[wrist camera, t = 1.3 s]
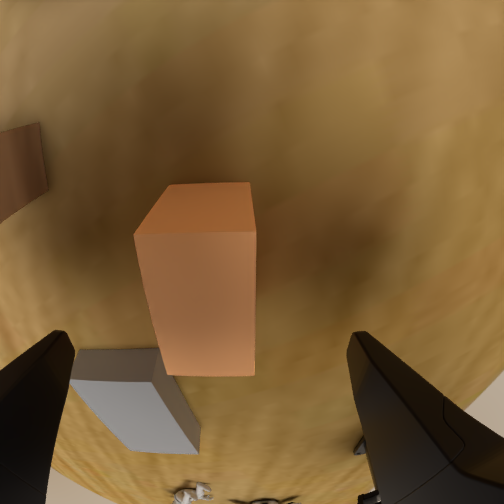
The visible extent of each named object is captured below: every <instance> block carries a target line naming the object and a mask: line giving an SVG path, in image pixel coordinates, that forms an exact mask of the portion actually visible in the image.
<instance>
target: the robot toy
mask: <svg viewBox="0 0 504 504" xmlns="http://www.w3.org/2000/svg"><path fill="white" fill-rule="evenodd" d="M252 504H278V503H277V502H276V501H257V502H253V503H252ZM288 504H301V503H294V502H291V503H288Z"/></svg>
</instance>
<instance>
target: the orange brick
mask: <svg viewBox="0 0 504 504" xmlns="http://www.w3.org/2000/svg"><path fill="white" fill-rule="evenodd" d="M133 236H134V241H135V247H136V252H137V257H138V262H139V267H140V272H141V276H142V281H143V286H144V290H145V294H146V299H147V303H148V307H149V311H150V315H151V319H152V323H153V327H154V330H155V334H156V338H157V341H158V345H159V349H160V352H161V355H162V359H163V362H164V365H165V369H166V372H167V375H178V376H255V315H256V225H255V217H254V210H253V202H252V195H251V188H250V182H226V183H195V184H174V185H169V186H168V187H167V188H166V190H165V191H164V192H163V194H162V195H161V196H160V198H159V199H158V200H157V202H156V203H155V204H154V206H153V207H152V209H151V210H150V211H149V213H148V214H147V216H146V217H145V218H144V220H143V221H142V223H141V224H140V226H139V227H138V228H137V230H136V231H135V233H134V234H133Z"/></svg>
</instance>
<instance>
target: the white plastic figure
mask: <svg viewBox="0 0 504 504" xmlns="http://www.w3.org/2000/svg"><path fill="white" fill-rule="evenodd" d="M196 485H197V488H196V490H193V489H182V490H180V491H179V492H177V493H176V494H175V496H174V499H175V500H174V501H173V503H172V504H191V502H192V501H193V500H195V501H197V500H198V499H204V500H212V499H213V498H214V497H212V498H210V497H209V496H210V495H208V496H206V497H205V496H204V495H203V494H204V490H206V491H208V492H210V491H211V488H210V487H209V486H208V485H205V484H203V483H201V482H197V484H196Z"/></svg>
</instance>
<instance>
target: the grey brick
mask: <svg viewBox="0 0 504 504" xmlns="http://www.w3.org/2000/svg"><path fill="white" fill-rule="evenodd" d="M70 384H71V386H72V387H73V388H74V389H75V391H76V392H77V393H78V394H79V396H80V397H81V398H82V399H83V400H84V402H85V403H86V404H87V405H88V406H89V407H90V409H91V410H92V411H93V412H94V413H95V414H96V415H97V417H98V418H99V419H100V420H101V421H102V422H103V423H104V424H105V425H106V426H107V427H108V429H109V430H110V431H111V432H112V433H113V434H114V435H115V436H116V437H117V438H118V439H119V440H120V441H121V442H122V443H123V444H124V445H125V446H126V447H127V448H128V449H129V450H130V451H139V452H151V453H169V454H199V446H200V429H201V427H200V425H199V424H198V422H197V420H196V418H195V417H194V415H193V413H192V411H191V409H190V408H189V406H188V404H187V402H186V400H185V398H184V396H183V395H182V393H181V391H180V389H179V387H178V385H177V383H176V381H175V379H174V377H173V375H167V372H166V369H165V365H164V362H163V359H162V355H161V352H160V349H159V348H147V349H114V350H79V352H78V354H77V357H76V359H75V361H74V363H73V367H72V372H71V377H70Z"/></svg>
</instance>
